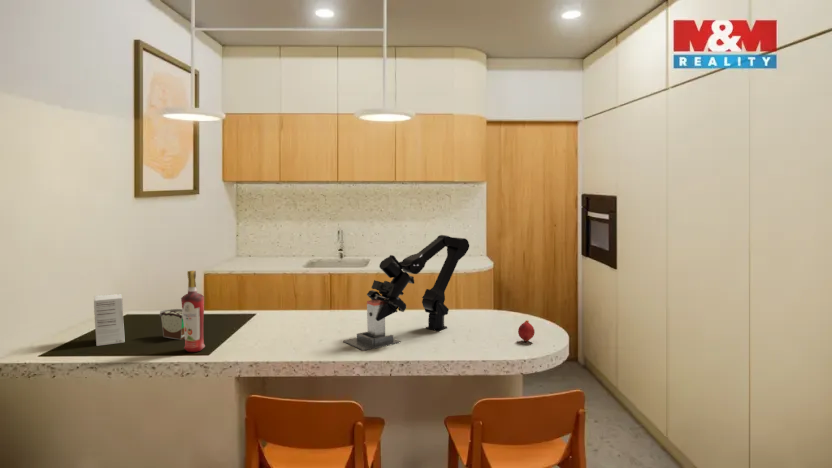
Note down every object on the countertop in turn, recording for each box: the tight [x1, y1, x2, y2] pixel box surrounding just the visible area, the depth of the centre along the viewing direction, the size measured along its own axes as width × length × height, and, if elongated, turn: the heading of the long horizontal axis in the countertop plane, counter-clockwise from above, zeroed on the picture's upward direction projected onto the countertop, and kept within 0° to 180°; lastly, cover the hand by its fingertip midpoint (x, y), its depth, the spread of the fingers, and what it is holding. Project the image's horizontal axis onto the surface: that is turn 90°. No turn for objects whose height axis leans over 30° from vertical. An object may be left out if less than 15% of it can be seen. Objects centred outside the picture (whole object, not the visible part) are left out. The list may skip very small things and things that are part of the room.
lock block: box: [366, 299, 386, 338], centre depth 200 cm, size 5×5×13 cm
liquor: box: [180, 270, 206, 353], centre depth 190 cm, size 7×7×28 cm
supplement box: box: [93, 293, 126, 347], centre depth 202 cm, size 10×9×17 cm
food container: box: [159, 308, 185, 341], centre depth 209 cm, size 12×6×10 cm, turn 65°
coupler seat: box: [342, 331, 401, 352], centre depth 200 cm, size 16×14×3 cm
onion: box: [517, 319, 535, 342], centre depth 199 cm, size 6×6×8 cm
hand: (373, 318), depth 200 cm, fingers closed on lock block, 5 cm apart
